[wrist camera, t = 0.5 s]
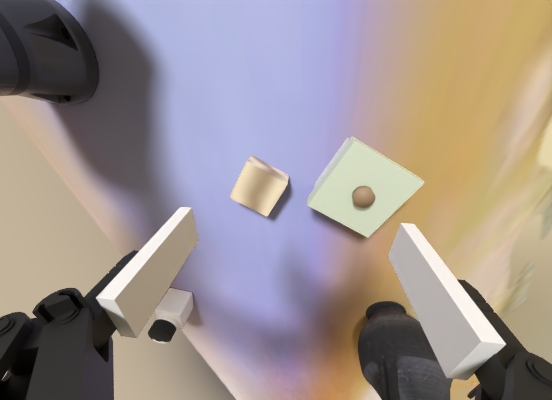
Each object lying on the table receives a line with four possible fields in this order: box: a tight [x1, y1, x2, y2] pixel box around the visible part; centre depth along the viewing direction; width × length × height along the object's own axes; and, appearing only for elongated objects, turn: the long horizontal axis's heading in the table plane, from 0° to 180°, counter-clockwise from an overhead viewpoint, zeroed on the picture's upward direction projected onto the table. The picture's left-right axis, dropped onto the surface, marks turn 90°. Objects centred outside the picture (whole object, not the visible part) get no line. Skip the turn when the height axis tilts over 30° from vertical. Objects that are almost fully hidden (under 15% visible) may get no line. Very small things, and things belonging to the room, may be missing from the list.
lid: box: [307, 136, 425, 237], centre depth 33 cm, size 12×12×4 cm
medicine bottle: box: [148, 288, 194, 343], centre depth 59 cm, size 7×7×12 cm
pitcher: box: [358, 301, 453, 400], centre depth 42 cm, size 17×21×30 cm
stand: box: [229, 155, 289, 217], centre depth 40 cm, size 8×8×4 cm
